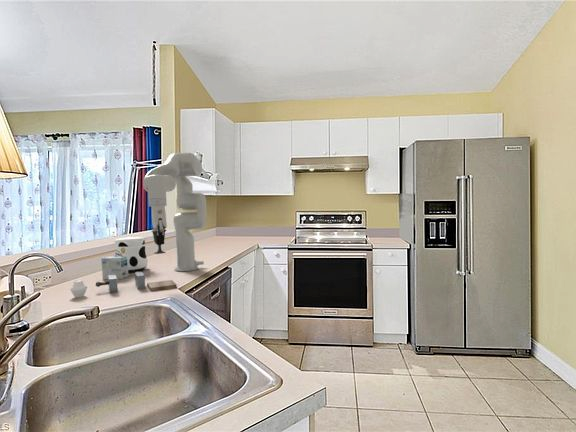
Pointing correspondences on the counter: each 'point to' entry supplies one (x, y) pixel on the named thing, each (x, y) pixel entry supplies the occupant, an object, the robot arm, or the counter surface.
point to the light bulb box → (115, 266)
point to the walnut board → (161, 285)
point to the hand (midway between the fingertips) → (159, 243)
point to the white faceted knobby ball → (78, 289)
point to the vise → (113, 282)
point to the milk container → (132, 252)
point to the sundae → (156, 241)
